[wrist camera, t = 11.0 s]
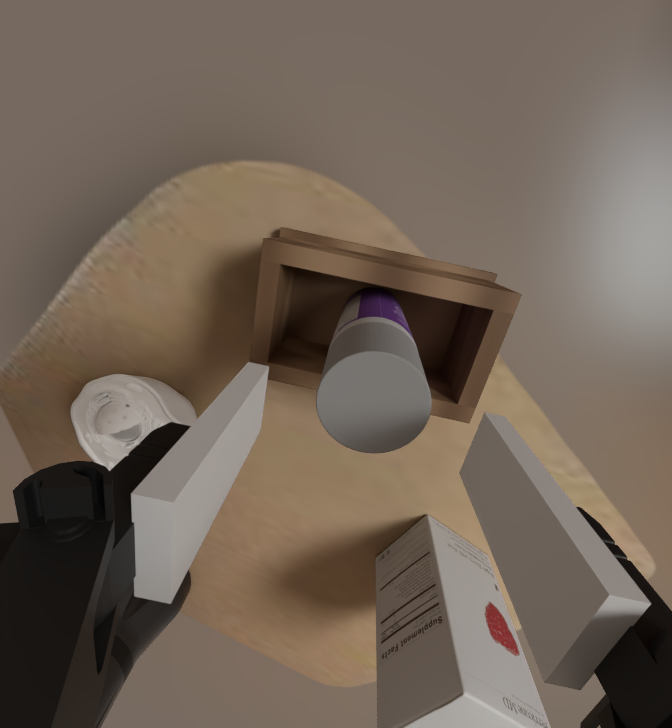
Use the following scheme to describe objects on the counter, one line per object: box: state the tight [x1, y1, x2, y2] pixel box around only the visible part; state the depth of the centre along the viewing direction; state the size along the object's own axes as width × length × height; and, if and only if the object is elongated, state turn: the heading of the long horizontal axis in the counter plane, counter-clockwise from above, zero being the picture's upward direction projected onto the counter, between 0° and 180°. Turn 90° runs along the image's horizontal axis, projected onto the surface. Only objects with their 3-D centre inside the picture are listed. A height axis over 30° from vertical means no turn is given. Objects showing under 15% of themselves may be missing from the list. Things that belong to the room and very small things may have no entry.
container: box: [316, 287, 432, 453], centre depth 20 cm, size 5×5×15 cm
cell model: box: [70, 374, 197, 471], centre depth 30 cm, size 10×12×7 cm
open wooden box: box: [250, 228, 522, 423], centre depth 25 cm, size 16×10×7 cm, turn 79°
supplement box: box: [375, 515, 551, 728], centre depth 30 cm, size 9×9×15 cm
